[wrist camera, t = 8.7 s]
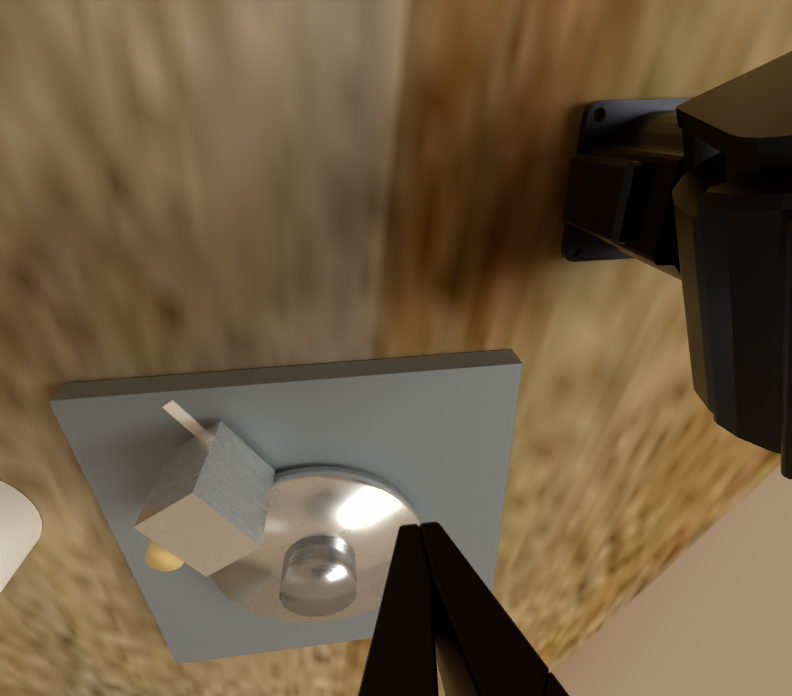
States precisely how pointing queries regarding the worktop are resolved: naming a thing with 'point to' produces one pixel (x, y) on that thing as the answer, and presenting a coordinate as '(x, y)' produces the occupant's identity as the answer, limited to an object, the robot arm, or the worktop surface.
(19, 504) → the cylindrical container
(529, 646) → the robot arm
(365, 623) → the base board
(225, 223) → the worktop surface
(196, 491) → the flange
